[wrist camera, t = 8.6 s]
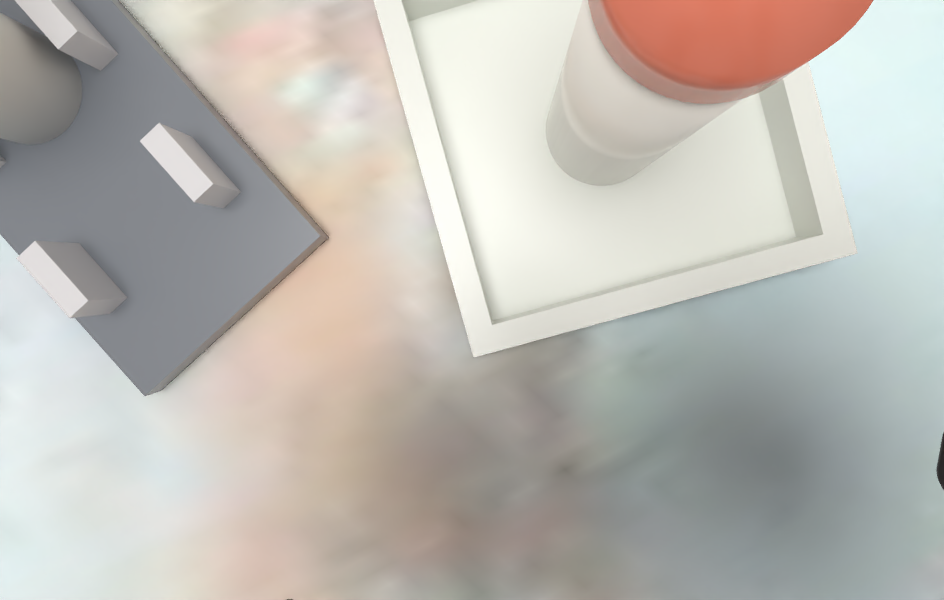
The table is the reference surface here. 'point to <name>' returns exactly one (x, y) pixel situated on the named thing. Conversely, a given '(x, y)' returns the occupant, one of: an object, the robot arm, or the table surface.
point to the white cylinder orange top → (674, 72)
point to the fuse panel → (133, 189)
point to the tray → (589, 206)
